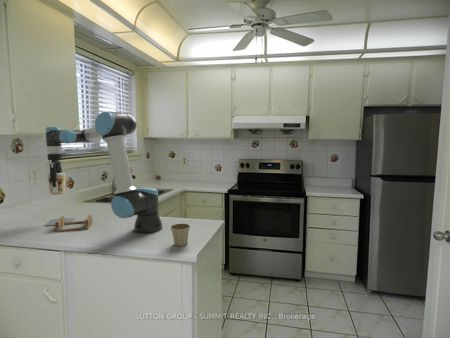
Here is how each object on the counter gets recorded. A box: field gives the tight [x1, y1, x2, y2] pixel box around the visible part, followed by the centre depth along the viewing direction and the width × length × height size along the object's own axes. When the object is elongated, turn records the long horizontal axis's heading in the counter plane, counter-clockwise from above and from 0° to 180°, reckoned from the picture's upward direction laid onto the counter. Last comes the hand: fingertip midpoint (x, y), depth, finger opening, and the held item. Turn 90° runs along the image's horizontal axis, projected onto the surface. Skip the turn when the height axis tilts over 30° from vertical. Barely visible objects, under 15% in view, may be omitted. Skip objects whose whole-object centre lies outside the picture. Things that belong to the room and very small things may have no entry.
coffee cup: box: [46, 172, 66, 196], centre depth 176 cm, size 9×9×12 cm
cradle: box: [54, 214, 94, 233], centre depth 170 cm, size 15×16×5 cm
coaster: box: [43, 217, 75, 227], centre depth 179 cm, size 13×13×1 cm
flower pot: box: [169, 223, 191, 247], centre depth 141 cm, size 9×9×9 cm
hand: (57, 191), depth 177 cm, fingers closed on coffee cup, 9 cm apart
